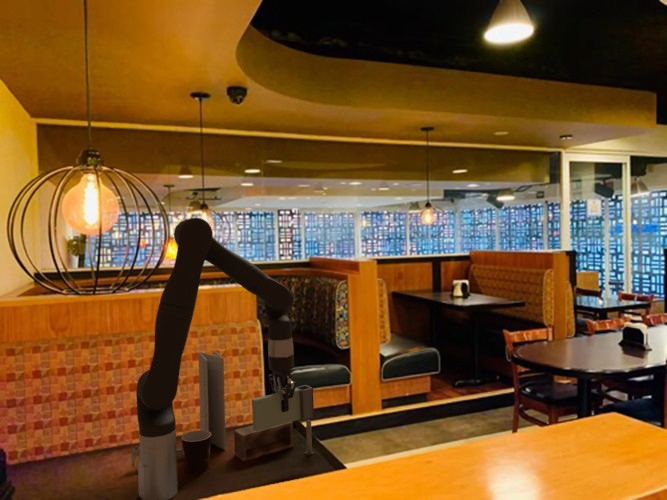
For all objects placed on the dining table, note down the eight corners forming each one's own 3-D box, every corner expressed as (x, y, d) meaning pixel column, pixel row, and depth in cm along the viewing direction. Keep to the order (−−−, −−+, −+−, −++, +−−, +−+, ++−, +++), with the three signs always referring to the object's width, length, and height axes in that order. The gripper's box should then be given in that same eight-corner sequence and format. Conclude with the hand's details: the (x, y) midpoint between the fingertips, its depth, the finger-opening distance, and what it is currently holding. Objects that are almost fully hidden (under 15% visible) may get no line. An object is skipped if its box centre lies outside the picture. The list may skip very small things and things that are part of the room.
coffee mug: (204, 476, 146) (203, 442, 146) (176, 474, 148) (175, 440, 148) (221, 459, 158) (220, 427, 157) (195, 457, 159) (194, 426, 159)
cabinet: (257, 472, 148) (256, 435, 148) (234, 455, 161) (234, 421, 160) (314, 454, 160) (313, 420, 160) (289, 439, 172) (288, 407, 172)
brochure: (200, 437, 175) (198, 351, 175) (216, 435, 178) (214, 349, 177) (208, 453, 162) (206, 360, 162) (225, 449, 165) (223, 358, 164)
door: (257, 432, 145) (256, 401, 145) (251, 428, 149) (250, 398, 149) (314, 416, 156) (312, 388, 156) (306, 413, 160) (305, 384, 160)
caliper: (132, 468, 152) (131, 447, 152) (131, 466, 153) (130, 446, 153) (200, 452, 161) (200, 433, 161) (200, 451, 162) (199, 432, 162)
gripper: (259, 351, 155) (261, 407, 156) (281, 359, 144) (283, 419, 145) (280, 347, 160) (282, 401, 160) (303, 355, 149) (305, 413, 149)
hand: (283, 410), depth 152 cm, fingers closed on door, 2 cm apart
